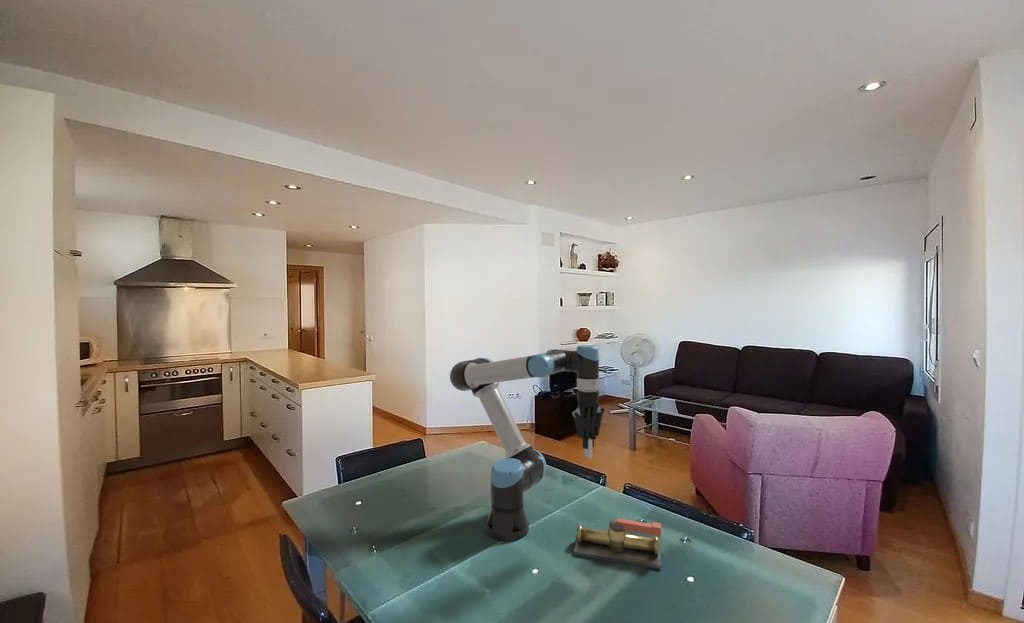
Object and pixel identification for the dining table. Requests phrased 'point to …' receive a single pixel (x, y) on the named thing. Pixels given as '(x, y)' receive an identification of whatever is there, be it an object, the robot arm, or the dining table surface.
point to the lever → (635, 526)
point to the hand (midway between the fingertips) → (588, 457)
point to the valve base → (618, 555)
